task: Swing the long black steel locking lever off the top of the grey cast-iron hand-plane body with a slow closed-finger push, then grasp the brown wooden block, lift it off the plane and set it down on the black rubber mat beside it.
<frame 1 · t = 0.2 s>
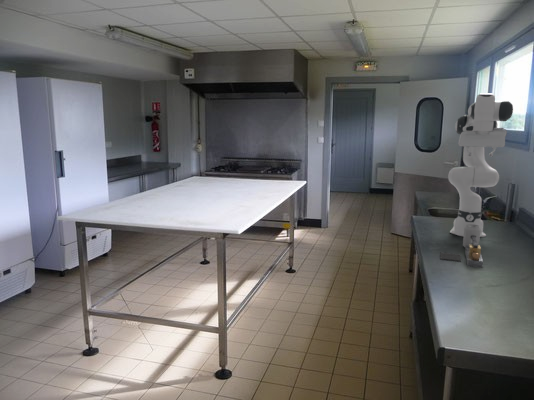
hand: (479, 156, 205), 47 cm above the worktop, fingers open, 8 cm apart
plane body: (473, 259, 198), on the worktop
can: (470, 248, 216), on the worktop
lever: (474, 241, 199), point 8 cm above the worktop, hinge at 0.0°
brown wooden block: (474, 254, 195), point 3 cm above the worktop, touching plane body
mat: (450, 257, 200), on the worktop
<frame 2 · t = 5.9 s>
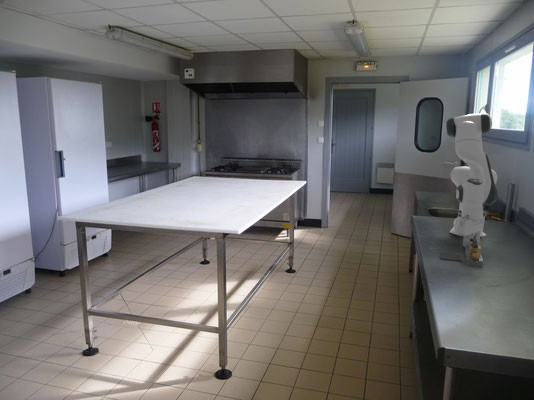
hand: (469, 242, 200), 7 cm above the worktop, fingers closed
lever: (474, 241, 199), point 8 cm above the worktop, hinge at 0.2°, touching gripper
everything else where it was.
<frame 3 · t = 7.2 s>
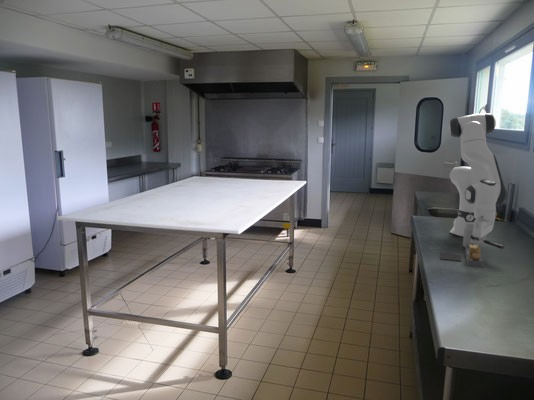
hand: (481, 243, 198), 7 cm above the worktop, fingers closed
lever: (486, 241, 199), point 8 cm above the worktop, hinge at 38.6°, touching gripper
everything else where it was.
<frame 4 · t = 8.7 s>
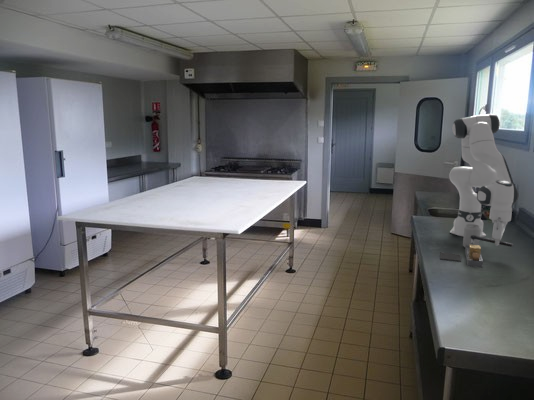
hand: (497, 244, 196), 7 cm above the worktop, fingers closed
lever: (490, 240, 200), point 8 cm above the worktop, hinge at 61.5°
everything else where it was.
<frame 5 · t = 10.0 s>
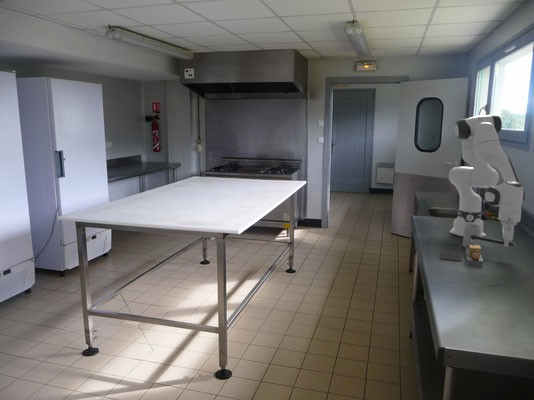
hand: (506, 245, 195), 7 cm above the worktop, fingers closed
lever: (491, 240, 201), point 8 cm above the worktop, hinge at 68.0°, touching gripper
everything else where it was.
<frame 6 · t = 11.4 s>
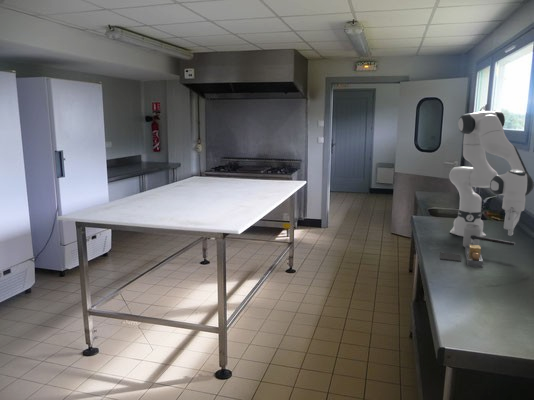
hand: (510, 234, 194), 13 cm above the worktop, fingers closed
lever: (491, 240, 201), point 8 cm above the worktop, hinge at 71.1°
everything else where it was.
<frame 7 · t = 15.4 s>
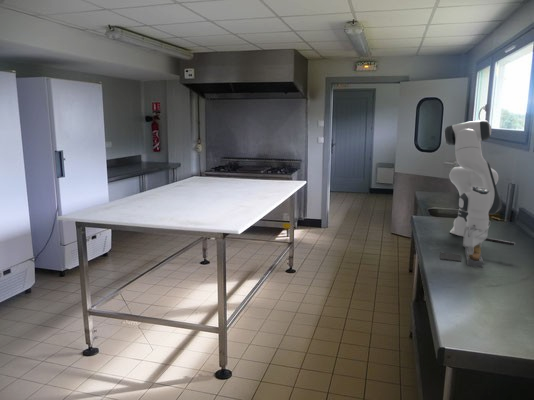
hand: (474, 252, 195), 4 cm above the worktop, fingers closed on brown wooden block, 7 cm apart
brown wooden block: (474, 254, 195), point 3 cm above the worktop, touching gripper, plane body
everything else where it was.
when the fingers open (3 cm above the worktop, at t = 21.1 s): brown wooden block drops 1 cm, resting on mat.
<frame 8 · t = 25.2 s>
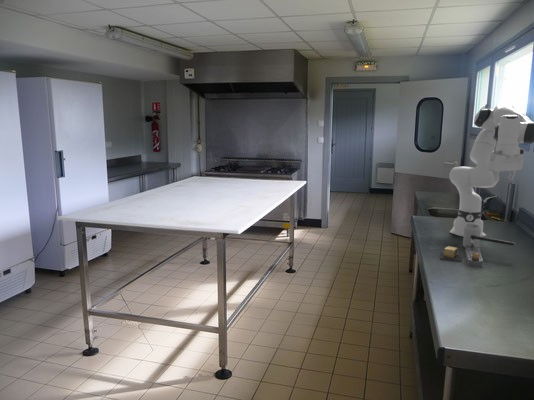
hand: (503, 180, 195), 37 cm above the worktop, fingers open, 8 cm apart
brown wooden block: (450, 256, 200), point 1 cm above the worktop, touching mat
everything else where it was.
at the end: brown wooden block inside the target area on the mat (0.1 cm from its centre), point 0.6 cm above the mat's base; lever at +71° (first picture: +0°); the gripper is holding nothing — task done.
